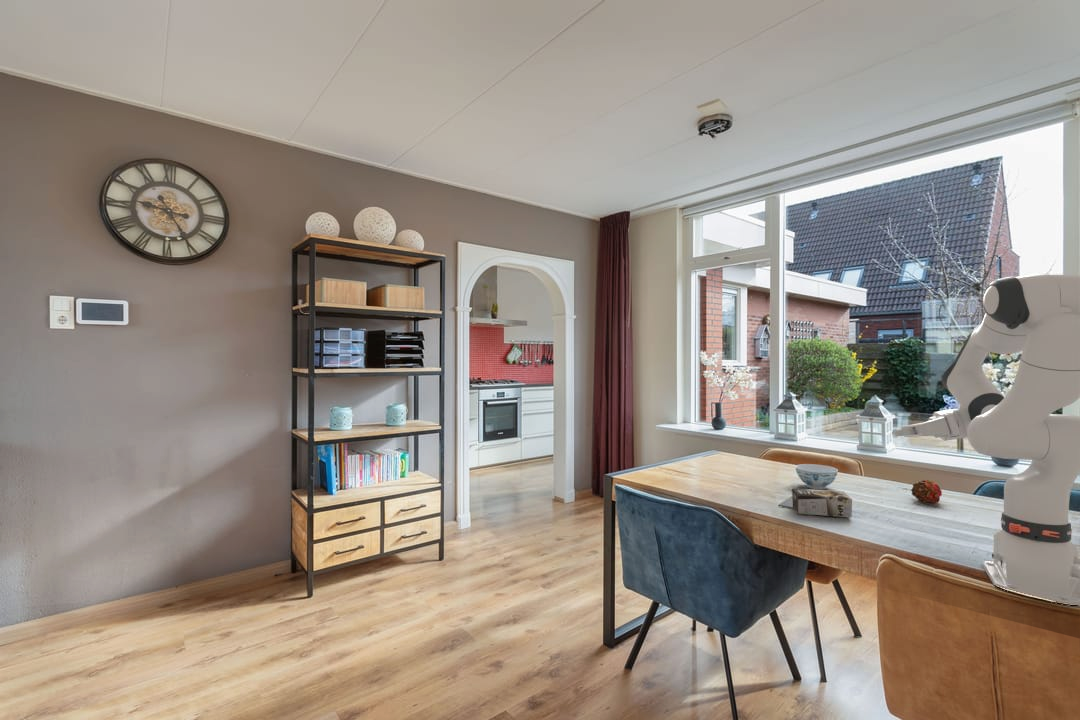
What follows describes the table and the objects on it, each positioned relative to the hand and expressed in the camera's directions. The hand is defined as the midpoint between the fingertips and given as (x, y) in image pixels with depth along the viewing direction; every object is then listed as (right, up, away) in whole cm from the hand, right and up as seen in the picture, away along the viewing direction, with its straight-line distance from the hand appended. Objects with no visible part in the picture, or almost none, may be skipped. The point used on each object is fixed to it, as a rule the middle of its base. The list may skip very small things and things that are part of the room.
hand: (893, 434), depth 158 cm
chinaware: (+2, -28, +47) cm, 55 cm away
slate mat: (-15, -29, +21) cm, 38 cm away
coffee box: (-7, -25, +11) cm, 28 cm away
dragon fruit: (+30, -28, +26) cm, 49 cm away
